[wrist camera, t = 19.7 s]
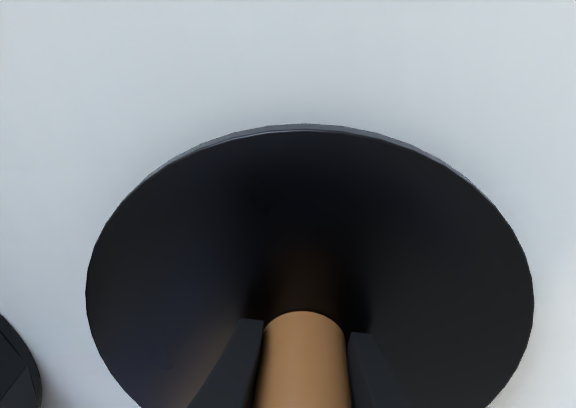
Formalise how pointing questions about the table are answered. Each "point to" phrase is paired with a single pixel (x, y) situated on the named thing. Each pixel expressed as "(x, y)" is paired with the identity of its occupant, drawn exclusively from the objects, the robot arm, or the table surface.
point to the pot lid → (309, 271)
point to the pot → (17, 372)
